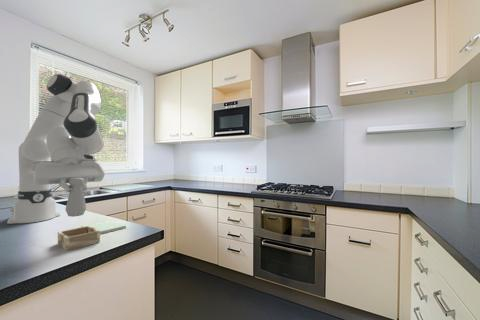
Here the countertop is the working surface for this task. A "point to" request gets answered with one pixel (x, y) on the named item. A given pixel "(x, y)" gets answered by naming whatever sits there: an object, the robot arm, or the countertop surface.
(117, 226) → the sage mat
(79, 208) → the salt shaker
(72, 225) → the countertop surface
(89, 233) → the wooden box
